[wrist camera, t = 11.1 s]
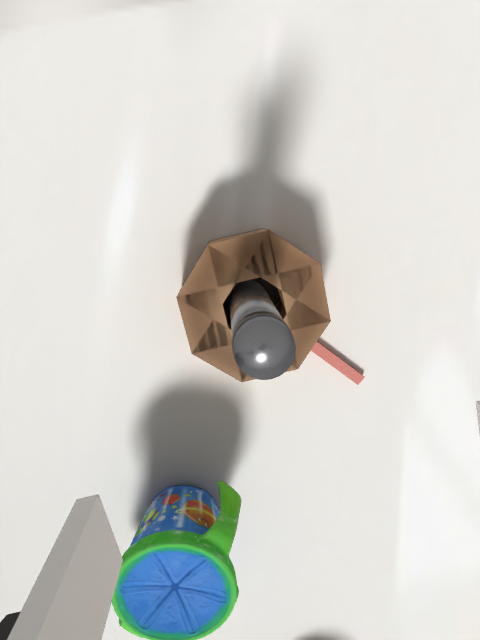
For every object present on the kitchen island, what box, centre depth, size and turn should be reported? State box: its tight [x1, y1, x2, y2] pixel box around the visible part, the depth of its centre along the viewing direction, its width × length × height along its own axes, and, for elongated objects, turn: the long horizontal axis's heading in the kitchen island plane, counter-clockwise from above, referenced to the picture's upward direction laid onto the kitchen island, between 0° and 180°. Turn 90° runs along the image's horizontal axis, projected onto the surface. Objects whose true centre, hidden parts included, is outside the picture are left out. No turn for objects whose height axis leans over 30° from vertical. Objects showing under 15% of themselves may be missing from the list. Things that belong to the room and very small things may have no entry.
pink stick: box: [311, 342, 364, 384], centre depth 41 cm, size 12×1×1 cm, turn 53°
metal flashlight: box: [229, 280, 296, 380], centre depth 32 cm, size 4×4×16 cm
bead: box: [177, 229, 331, 382], centre depth 37 cm, size 12×12×5 cm
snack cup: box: [112, 481, 241, 640], centre depth 40 cm, size 16×10×10 cm
